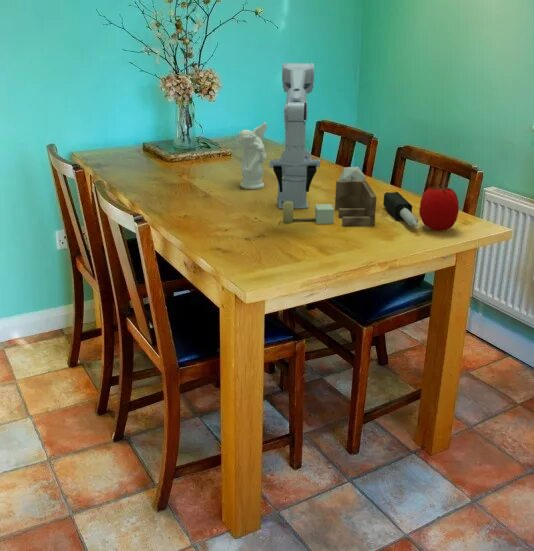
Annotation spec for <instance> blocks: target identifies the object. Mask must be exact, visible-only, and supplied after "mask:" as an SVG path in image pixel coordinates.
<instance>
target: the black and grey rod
mask: <svg viewBox="0 0 534 551" xmlns="http://www.w3.org/2000/svg"><path fill="white" fill-rule="evenodd" d="M382 203H383V204H382V205H383V207H384V208H385V209H386V210H387V212H389V213H390V215H392V216H393V218H394V219H396V221H405V222H406V223H407V225H409V227H416V228H417V227H419V224H418V222H419V219H418V218H417V217H416V216H415V215H414V214H413V205H412V204H411V203H410V202H409V201H408V200H407V199H406V198H405V197H404V196H403V195H402V194H400V192H398V191H395V192H388V191H387V192H385V193H384V194H383V202H382Z"/></svg>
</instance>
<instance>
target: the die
mask: <svg viewBox="0 0 534 551" xmlns="http://www.w3.org/2000/svg"><path fill="white" fill-rule="evenodd" d="M366 178H367V177H366V176H365V174H364V172H363V171H362V170H361V169H360V167H359V166H348V167H343V170H342V172H341V174H340V176H339V178H338V180H337V181H366Z"/></svg>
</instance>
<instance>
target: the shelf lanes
mask: <svg viewBox="0 0 534 551" xmlns="http://www.w3.org/2000/svg"><path fill="white" fill-rule="evenodd" d="M334 197H335V198H334V201H335V203H334V210H338V213H337V214H338V215H337V216H338V218H340V219H341V226H342V227H374V226H375V225H376V209H377V195H376V193H374V190H373V189H372V188H371V186H370V184H369V182H368V180H365V181H338V180H336V181H335V196H334Z"/></svg>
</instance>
